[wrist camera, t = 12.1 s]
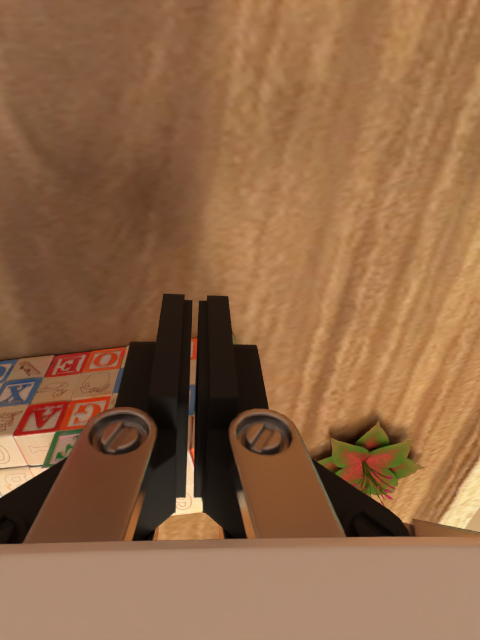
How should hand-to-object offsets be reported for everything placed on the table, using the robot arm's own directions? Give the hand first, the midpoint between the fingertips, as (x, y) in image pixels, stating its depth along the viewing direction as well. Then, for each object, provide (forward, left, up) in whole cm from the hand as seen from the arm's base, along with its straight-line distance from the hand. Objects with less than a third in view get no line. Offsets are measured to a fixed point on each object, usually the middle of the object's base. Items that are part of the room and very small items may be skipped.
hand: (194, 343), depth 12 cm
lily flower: (+31, -10, -21) cm, 39 cm away
